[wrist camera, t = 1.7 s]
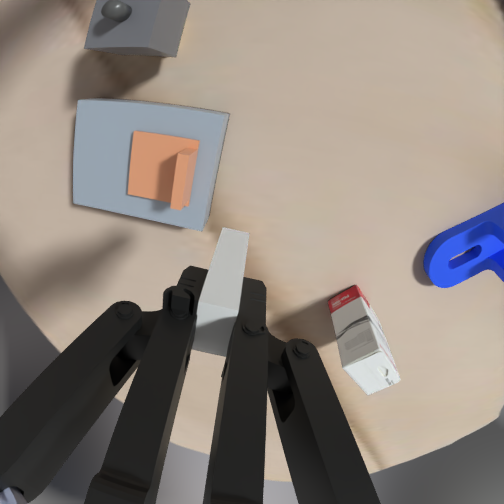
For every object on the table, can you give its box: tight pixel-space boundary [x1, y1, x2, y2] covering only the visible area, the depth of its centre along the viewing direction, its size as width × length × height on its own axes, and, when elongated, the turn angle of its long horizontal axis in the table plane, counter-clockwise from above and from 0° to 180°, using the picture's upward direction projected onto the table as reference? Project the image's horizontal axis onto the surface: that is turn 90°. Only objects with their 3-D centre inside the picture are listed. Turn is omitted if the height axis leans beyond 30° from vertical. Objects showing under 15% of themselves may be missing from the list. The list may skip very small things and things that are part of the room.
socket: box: [73, 98, 230, 231], centre depth 29 cm, size 12×16×4 cm
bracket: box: [424, 203, 504, 288], centre depth 29 cm, size 18×8×9 cm, turn 116°
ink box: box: [328, 285, 400, 395], centre depth 35 cm, size 9×5×12 cm, turn 37°
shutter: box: [128, 130, 200, 210], centre depth 25 cm, size 7×7×3 cm
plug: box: [84, 0, 190, 57], centre depth 18 cm, size 6×6×12 cm
